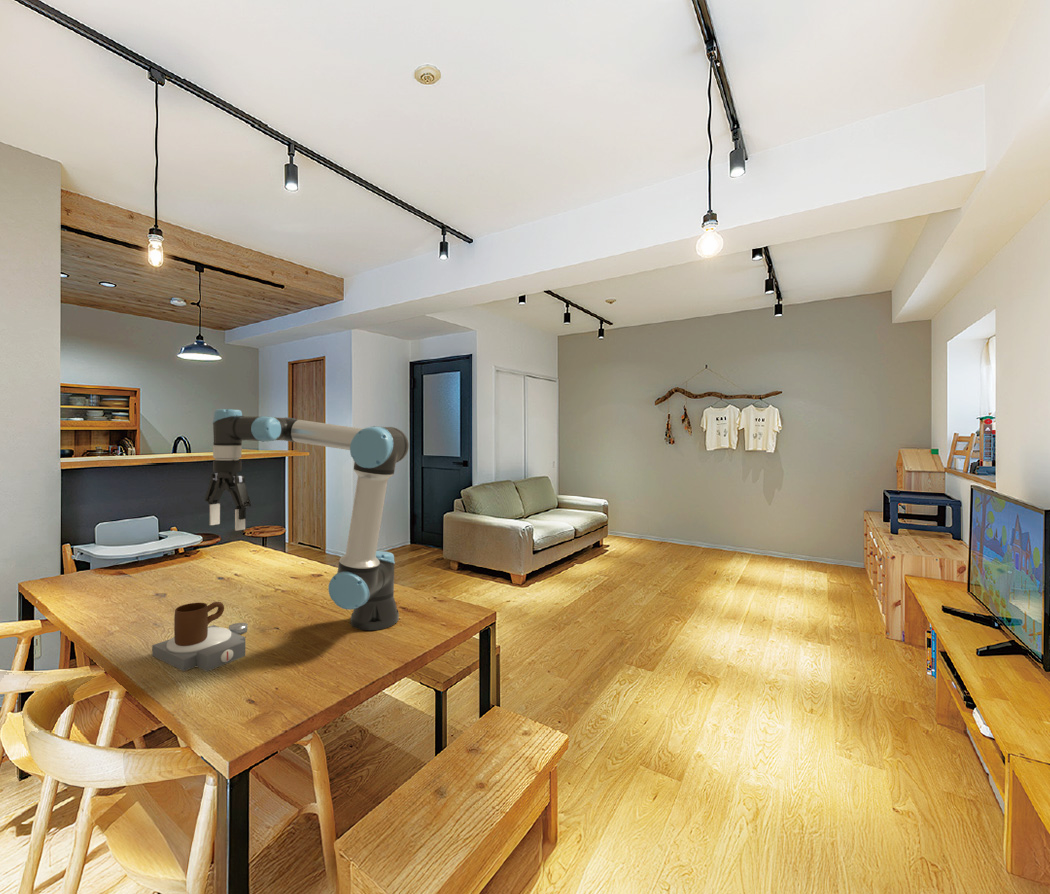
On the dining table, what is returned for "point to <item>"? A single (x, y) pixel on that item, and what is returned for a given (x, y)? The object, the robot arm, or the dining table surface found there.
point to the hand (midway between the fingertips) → (227, 527)
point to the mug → (194, 622)
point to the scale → (202, 650)
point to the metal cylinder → (238, 628)
